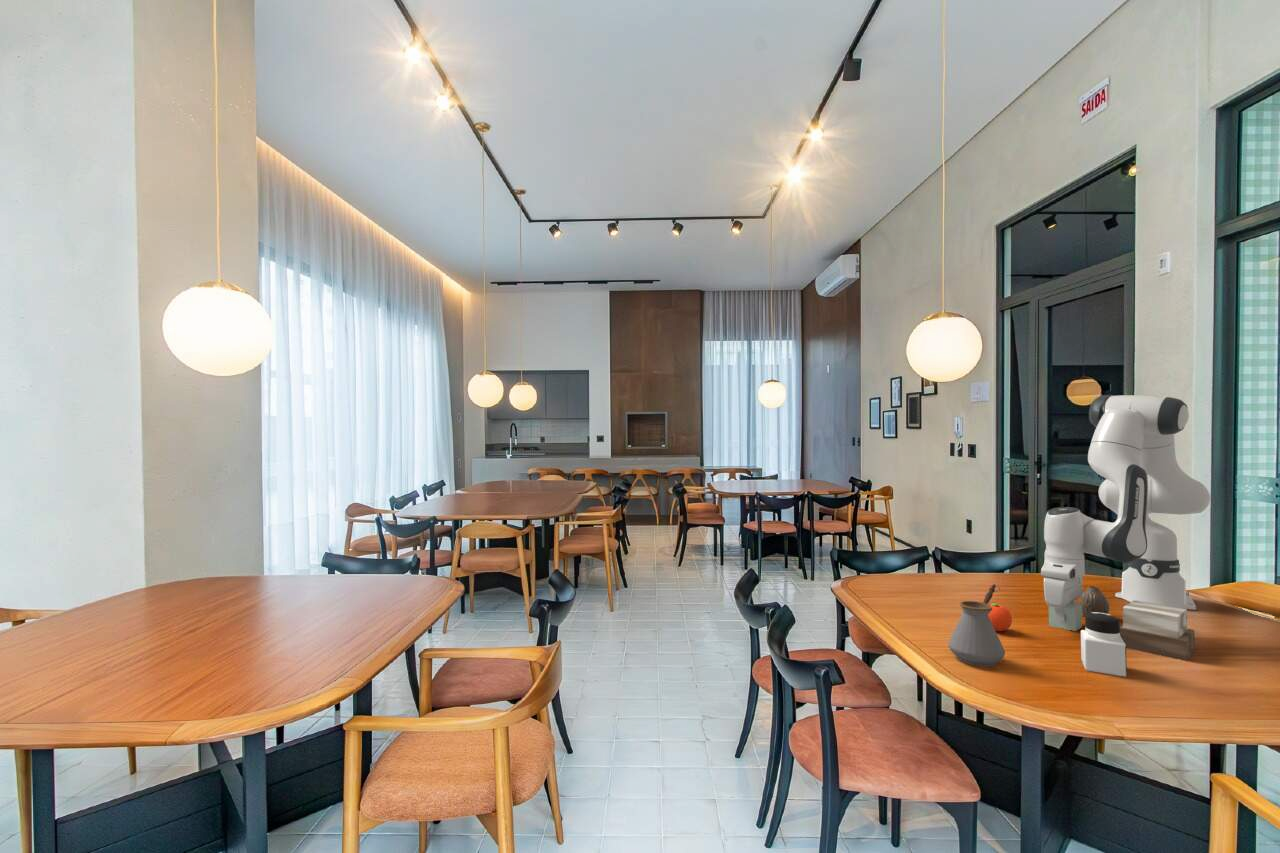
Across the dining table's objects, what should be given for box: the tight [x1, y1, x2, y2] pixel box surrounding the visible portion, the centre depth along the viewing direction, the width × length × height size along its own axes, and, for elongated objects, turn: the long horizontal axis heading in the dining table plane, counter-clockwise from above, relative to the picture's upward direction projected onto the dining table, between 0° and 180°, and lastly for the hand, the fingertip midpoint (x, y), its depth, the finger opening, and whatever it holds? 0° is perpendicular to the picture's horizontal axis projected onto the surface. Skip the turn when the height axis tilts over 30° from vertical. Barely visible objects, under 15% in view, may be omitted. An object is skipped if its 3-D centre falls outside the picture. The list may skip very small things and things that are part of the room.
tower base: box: [1120, 624, 1196, 662], centre depth 140 cm, size 12×12×5 cm
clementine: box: [988, 603, 1013, 632], centre depth 153 cm, size 8×7×7 cm
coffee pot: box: [947, 583, 1006, 667], centre depth 136 cm, size 21×12×15 cm, turn 133°
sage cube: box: [1048, 603, 1083, 632], centre depth 156 cm, size 6×6×6 cm
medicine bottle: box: [1080, 612, 1128, 678], centre depth 127 cm, size 7×7×12 cm
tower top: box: [1122, 600, 1189, 639], centre depth 140 cm, size 10×10×5 cm
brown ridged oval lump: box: [1078, 585, 1110, 617], centre depth 163 cm, size 7×7×9 cm
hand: (1065, 617), depth 156 cm, fingers closed on sage cube, 6 cm apart
